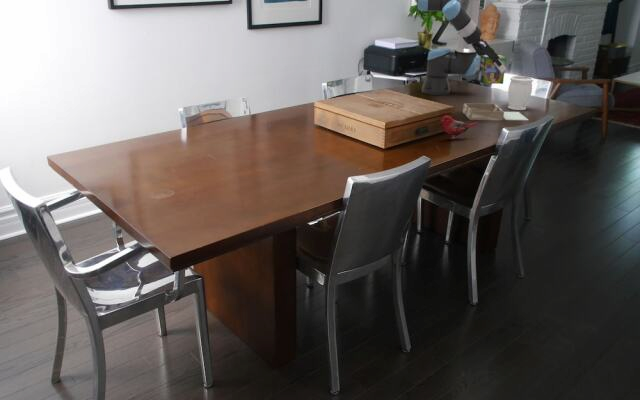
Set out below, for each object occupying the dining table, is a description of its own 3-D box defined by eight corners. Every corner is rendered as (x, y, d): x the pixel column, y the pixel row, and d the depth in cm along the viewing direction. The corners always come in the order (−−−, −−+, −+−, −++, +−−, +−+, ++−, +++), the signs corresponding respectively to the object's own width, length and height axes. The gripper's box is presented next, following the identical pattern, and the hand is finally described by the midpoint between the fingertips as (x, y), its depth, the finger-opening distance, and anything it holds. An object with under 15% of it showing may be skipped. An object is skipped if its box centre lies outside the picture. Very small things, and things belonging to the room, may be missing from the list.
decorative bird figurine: (436, 139, 210) (438, 114, 206) (475, 136, 215) (478, 112, 211) (439, 141, 208) (442, 116, 204) (479, 138, 212) (482, 113, 208)
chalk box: (503, 84, 233) (508, 50, 227) (482, 84, 233) (487, 49, 227) (497, 80, 241) (502, 47, 235) (477, 79, 242) (481, 46, 236)
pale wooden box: (462, 111, 251) (463, 103, 249) (493, 112, 251) (494, 103, 249) (469, 119, 238) (471, 111, 236) (502, 120, 237) (504, 111, 236)
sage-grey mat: (497, 112, 250) (497, 111, 250) (518, 112, 250) (518, 111, 250) (506, 120, 238) (506, 119, 237) (528, 120, 237) (528, 119, 237)
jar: (504, 109, 255) (509, 78, 249) (506, 105, 264) (511, 75, 258) (528, 112, 252) (533, 80, 246) (528, 107, 260) (534, 76, 254)
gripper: (453, 35, 238) (481, 69, 246) (473, 41, 217) (503, 79, 226) (465, 22, 236) (493, 58, 245) (487, 28, 216) (516, 66, 224)
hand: (498, 68), depth 235 cm, fingers closed on chalk box, 10 cm apart
